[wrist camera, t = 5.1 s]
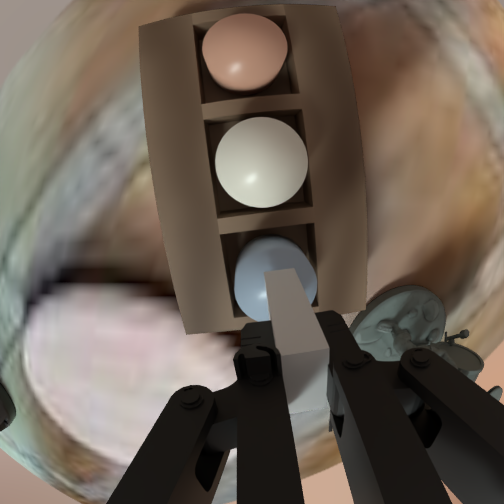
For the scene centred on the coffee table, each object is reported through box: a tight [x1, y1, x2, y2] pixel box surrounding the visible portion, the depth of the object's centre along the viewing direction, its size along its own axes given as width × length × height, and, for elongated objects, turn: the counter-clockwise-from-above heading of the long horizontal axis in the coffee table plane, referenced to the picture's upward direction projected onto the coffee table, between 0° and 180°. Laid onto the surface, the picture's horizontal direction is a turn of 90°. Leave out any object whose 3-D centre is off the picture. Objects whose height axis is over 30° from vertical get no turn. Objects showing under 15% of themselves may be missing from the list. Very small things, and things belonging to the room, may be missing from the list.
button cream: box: [215, 117, 308, 208], centre depth 15 cm, size 4×4×3 cm
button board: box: [139, 4, 368, 335], centre depth 17 cm, size 12×20×4 cm, turn 7°
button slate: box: [234, 234, 317, 322], centre depth 17 cm, size 4×4×3 cm
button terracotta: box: [202, 13, 287, 95], centre depth 13 cm, size 4×4×3 cm
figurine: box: [349, 285, 502, 401], centre depth 18 cm, size 11×11×12 cm
